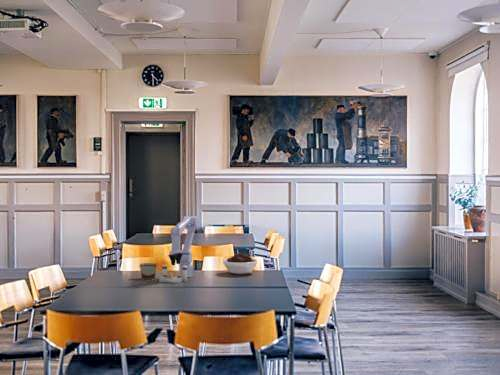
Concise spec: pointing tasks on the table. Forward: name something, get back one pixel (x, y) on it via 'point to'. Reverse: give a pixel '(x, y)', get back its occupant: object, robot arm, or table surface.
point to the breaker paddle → (170, 274)
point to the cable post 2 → (184, 273)
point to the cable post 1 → (164, 270)
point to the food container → (148, 270)
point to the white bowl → (240, 264)
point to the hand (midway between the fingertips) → (175, 264)
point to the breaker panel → (171, 279)
